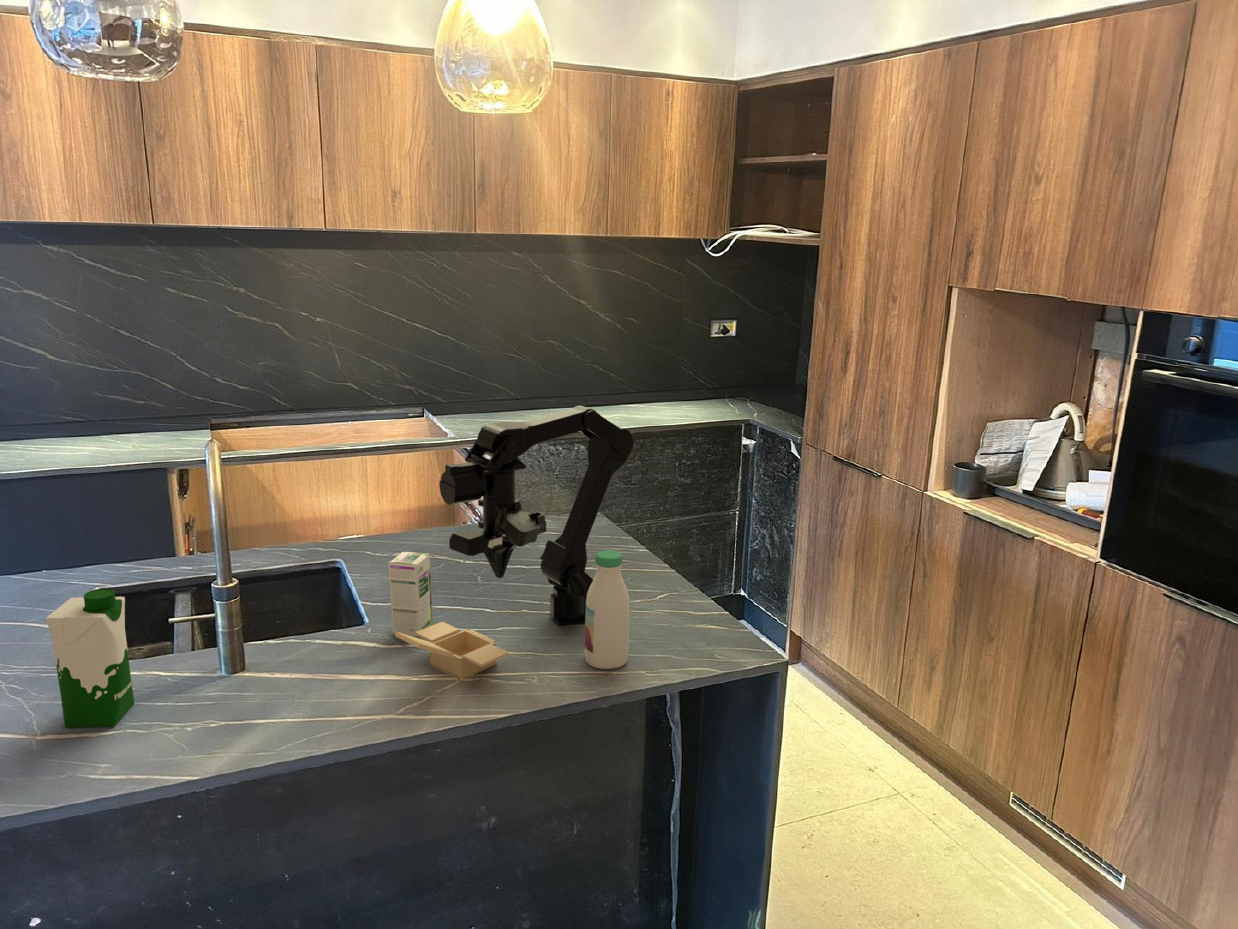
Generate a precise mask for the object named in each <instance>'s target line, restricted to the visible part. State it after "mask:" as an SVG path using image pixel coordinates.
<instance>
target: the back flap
mask: <svg viewBox="0 0 1238 929" xmlns="http://www.w3.org/2000/svg"><path fill="white" fill-rule="evenodd" d="M393 635H394V636H395V637H396V638H398V639H399V640H402V641H404V642H406V643H408V644H410V645H412V646H414V647H415V648H418V649H421V650H425V651H427V652H430V651H431V652H434V653H438V654H441V655H444V656H448V657H451V658H453V656H454V654H453V653H451V652H449V651H447V650H445V649H443V648H441V647H439V646H437V645H435V644H433V643H431V642H429V641H427V640H425V639H423V638H419V637H413V636H409V635H405V634H402V633H399V632H396V633H395V634H393Z"/></svg>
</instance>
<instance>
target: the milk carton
mask: <svg viewBox="0 0 1238 929" xmlns="http://www.w3.org/2000/svg"><path fill="white" fill-rule="evenodd" d="M125 605H126V598H125V596H116V592H115V590H114V589H111V588H98V589H93V590H89V591H87V592H86V593H85V594H84V595H83V597H70V598H69V599H67V601H65V602H64V603H63V604H61V605H60V606H59V607H58V608H56V609H55V610H54V611H53V612H51V613H50V614H49V615H48V616H46V618H45V620H46V623H47V627H48V629H49V632H50V636H51V639H52V645H53V652H54V658H55V665H56V671H57V679H58V685H59V686H58V687H59V692H60V702H61V708H62V714H63V715H62V716H63V722H64V728H65V729H67V728H69V729H71V728H72V729H73V728H115V727H116V725H118V723H119V722H120V721H121V719H122V718H124V717H125V715H126V714H127V712H128V711H130V709H131V708H132V707H133V705H134V704H135V698H134V690H133V685H132V674H131V669H130V659H129V651H128V643H127V635H126V628H125V627H126V625H125V624H126V622H125V616H126V615H125V614H126V613H125V611H126V608H125V607H126V606H125Z"/></svg>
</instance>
